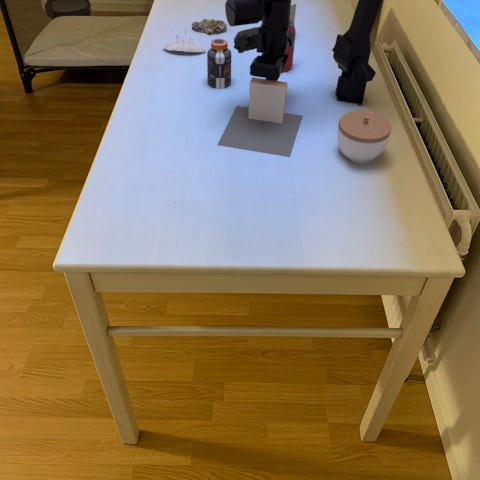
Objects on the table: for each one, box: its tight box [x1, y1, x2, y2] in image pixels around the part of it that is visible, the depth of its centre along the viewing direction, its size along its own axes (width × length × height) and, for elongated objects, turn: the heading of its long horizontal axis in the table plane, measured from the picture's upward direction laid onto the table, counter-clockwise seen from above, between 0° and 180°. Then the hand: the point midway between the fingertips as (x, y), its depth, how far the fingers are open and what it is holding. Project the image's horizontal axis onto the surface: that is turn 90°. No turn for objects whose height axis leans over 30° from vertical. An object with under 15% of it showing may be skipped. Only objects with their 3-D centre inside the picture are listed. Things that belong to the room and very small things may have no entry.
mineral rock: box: [191, 18, 228, 36], centre depth 153 cm, size 11×4×8 cm
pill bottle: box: [206, 38, 232, 90], centre depth 126 cm, size 6×6×11 cm
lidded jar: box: [336, 110, 393, 164], centre depth 106 cm, size 11×11×9 cm
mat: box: [217, 105, 303, 158], centre depth 115 cm, size 16×17×1 cm
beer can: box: [281, 20, 296, 73], centre depth 133 cm, size 7×7×12 cm
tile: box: [248, 76, 289, 123], centre depth 115 cm, size 8×2×9 cm, turn 76°
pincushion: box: [163, 28, 207, 54], centre depth 141 cm, size 12×6×6 cm, turn 85°
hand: (270, 88), depth 117 cm, fingers closed
